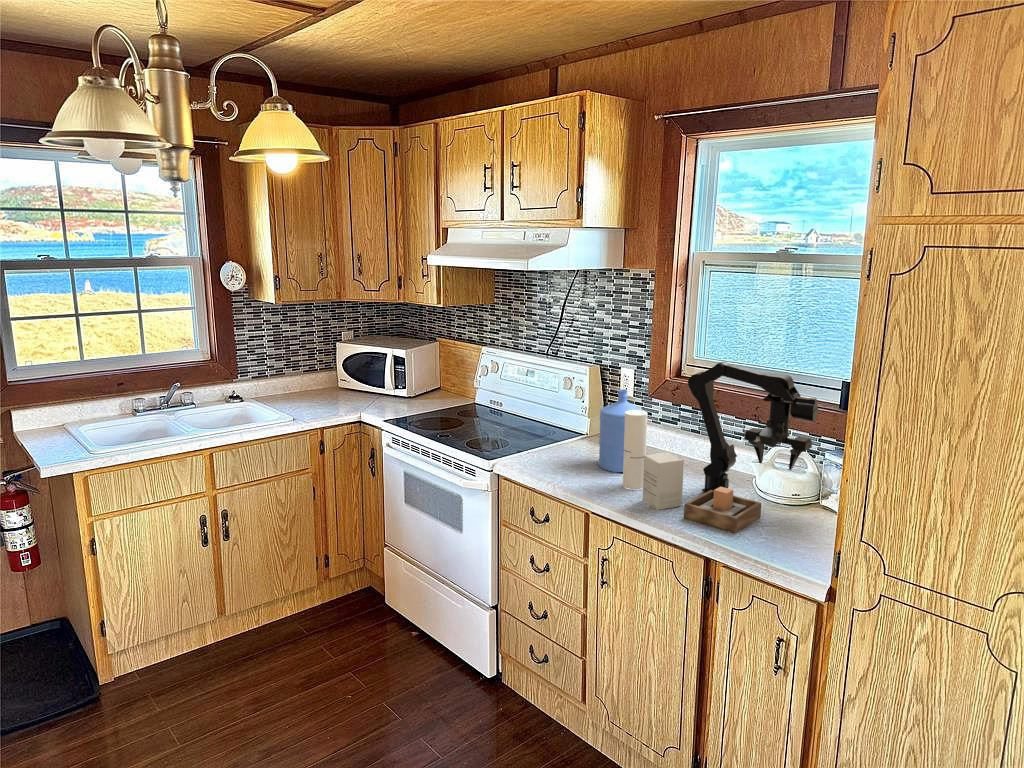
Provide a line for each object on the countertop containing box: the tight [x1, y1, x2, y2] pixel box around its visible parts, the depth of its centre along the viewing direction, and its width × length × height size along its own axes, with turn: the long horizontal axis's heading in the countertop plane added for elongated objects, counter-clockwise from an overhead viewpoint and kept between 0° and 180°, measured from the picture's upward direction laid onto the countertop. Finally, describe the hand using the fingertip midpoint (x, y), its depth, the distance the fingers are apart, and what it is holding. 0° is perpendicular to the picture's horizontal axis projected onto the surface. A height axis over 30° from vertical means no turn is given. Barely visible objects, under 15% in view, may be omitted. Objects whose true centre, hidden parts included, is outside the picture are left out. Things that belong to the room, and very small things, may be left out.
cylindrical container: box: [622, 410, 648, 490], centre depth 227 cm, size 7×7×25 cm
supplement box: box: [642, 451, 685, 511], centre depth 213 cm, size 9×9×15 cm
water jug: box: [598, 389, 644, 473], centre depth 247 cm, size 16×16×28 cm
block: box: [713, 487, 734, 511], centre depth 202 cm, size 4×4×8 cm
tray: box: [683, 490, 762, 535], centre depth 202 cm, size 16×16×4 cm
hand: (775, 466), depth 211 cm, fingers open, 9 cm apart
